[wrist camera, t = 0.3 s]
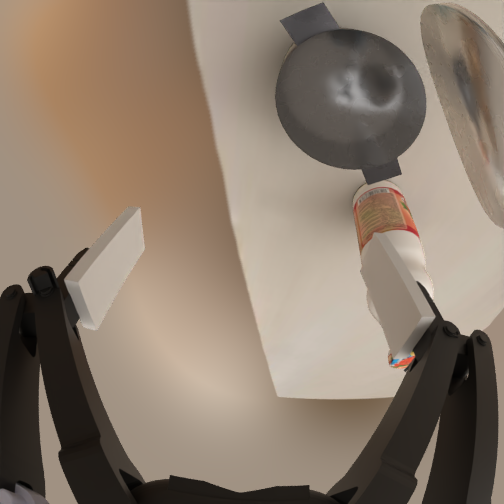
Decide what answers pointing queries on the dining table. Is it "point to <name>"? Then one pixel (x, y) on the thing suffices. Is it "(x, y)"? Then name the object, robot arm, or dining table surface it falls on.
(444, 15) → the lid
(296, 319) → the dining table surface
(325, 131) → the cooker pot
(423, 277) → the fruit juice
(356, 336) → the dining table surface
